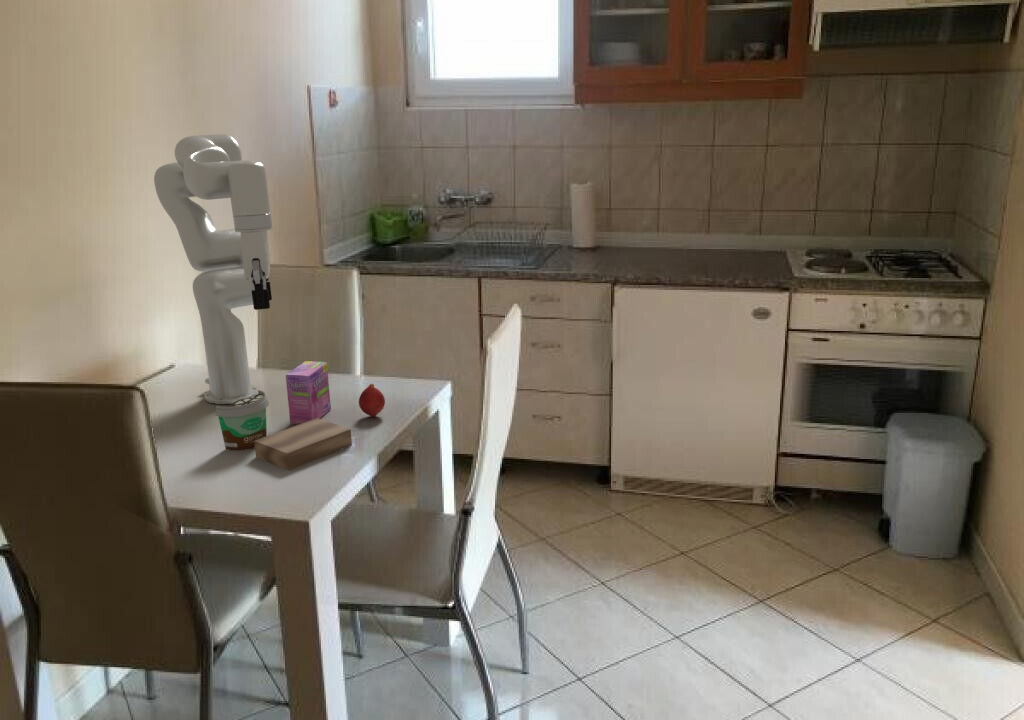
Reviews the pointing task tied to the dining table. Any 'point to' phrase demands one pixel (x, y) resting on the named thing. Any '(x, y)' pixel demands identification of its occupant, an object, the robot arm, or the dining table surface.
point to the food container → (243, 421)
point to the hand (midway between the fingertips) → (263, 304)
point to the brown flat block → (302, 443)
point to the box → (308, 392)
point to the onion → (371, 401)
